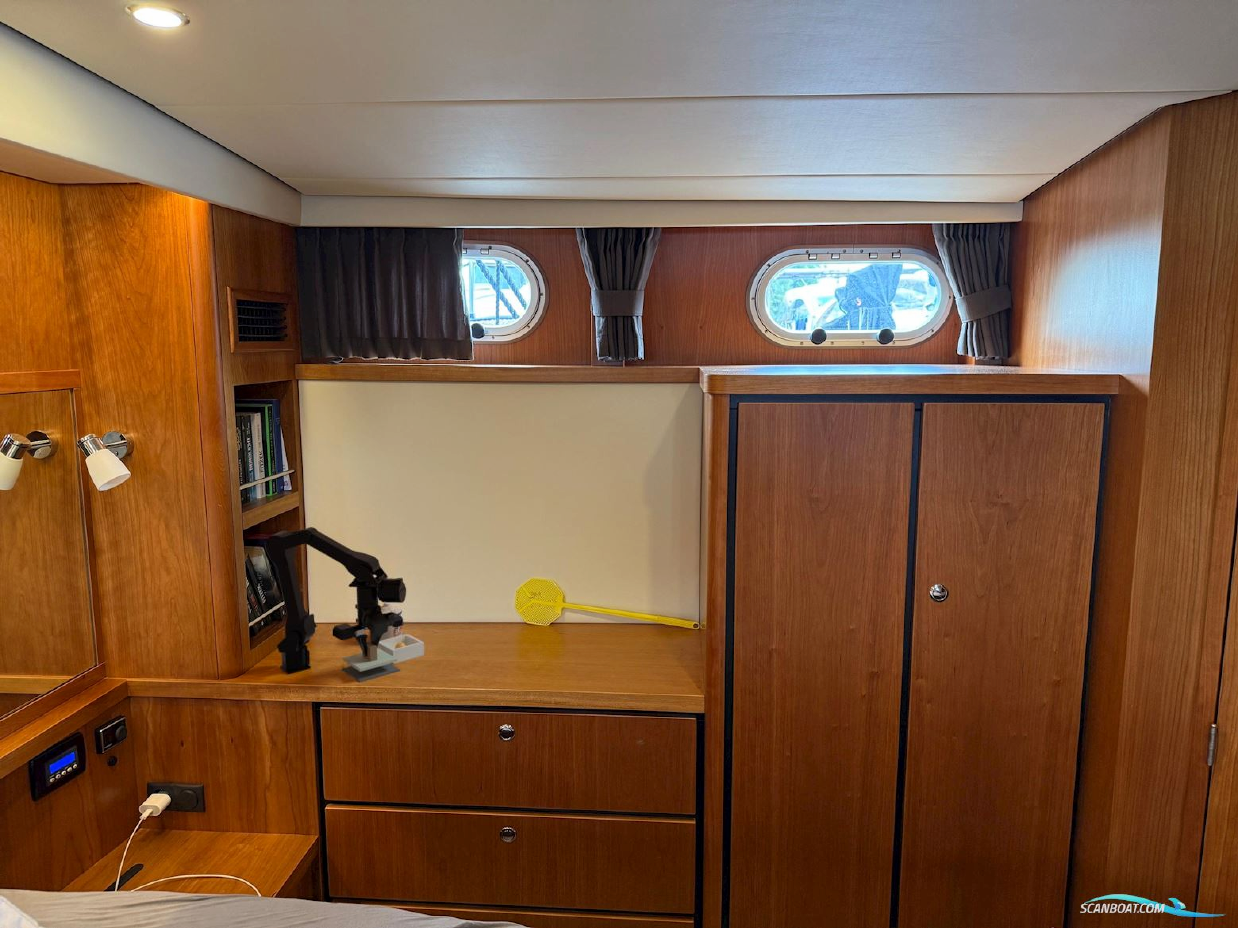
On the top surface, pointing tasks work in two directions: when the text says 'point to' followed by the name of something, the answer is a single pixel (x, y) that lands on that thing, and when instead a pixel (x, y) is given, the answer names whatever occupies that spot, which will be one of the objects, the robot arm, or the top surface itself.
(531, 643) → the top surface
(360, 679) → the mat
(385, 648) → the dish
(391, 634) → the teacup with lid
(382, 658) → the lid
